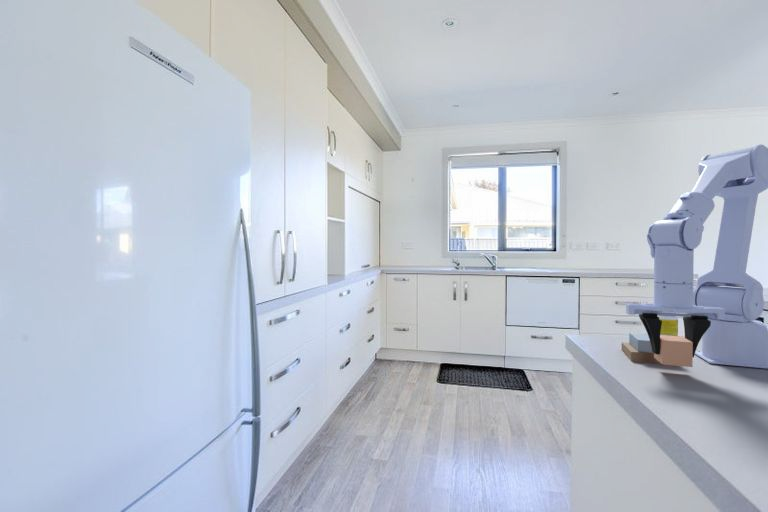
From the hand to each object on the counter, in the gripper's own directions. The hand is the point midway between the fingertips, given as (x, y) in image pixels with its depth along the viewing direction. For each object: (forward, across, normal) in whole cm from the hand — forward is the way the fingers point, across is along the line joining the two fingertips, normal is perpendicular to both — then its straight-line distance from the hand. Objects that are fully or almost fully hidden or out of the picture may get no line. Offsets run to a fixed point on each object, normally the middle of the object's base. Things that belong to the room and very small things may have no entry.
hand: (672, 354), depth 67 cm
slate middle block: (+2, -1, +10) cm, 10 cm away
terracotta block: (+1, 0, 0) cm, 1 cm away
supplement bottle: (+4, +7, +27) cm, 28 cm away
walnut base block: (+4, -1, +10) cm, 11 cm away
